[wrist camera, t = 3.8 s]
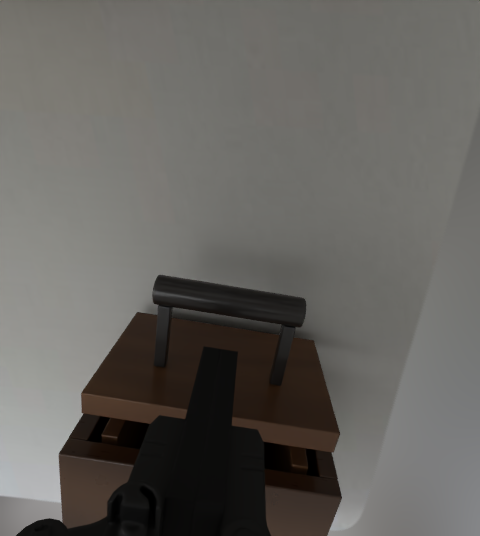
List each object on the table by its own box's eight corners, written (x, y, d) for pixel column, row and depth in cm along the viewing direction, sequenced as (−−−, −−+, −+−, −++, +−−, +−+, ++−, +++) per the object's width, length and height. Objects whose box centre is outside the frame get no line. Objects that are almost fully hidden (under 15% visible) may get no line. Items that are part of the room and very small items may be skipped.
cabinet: (131, 337, 23) (57, 453, 15) (311, 366, 24) (342, 498, 15) (125, 482, 29) (68, 630, 20) (271, 505, 29) (278, 661, 20)
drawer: (140, 239, 20) (78, 293, 13) (333, 271, 20) (373, 340, 13) (129, 461, 27) (84, 574, 20) (274, 483, 27) (279, 604, 20)
